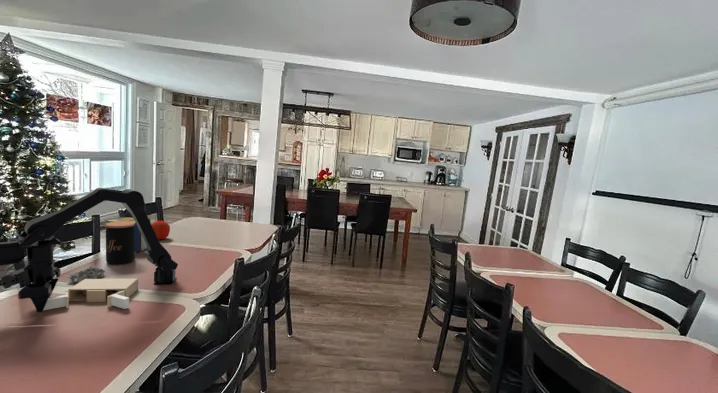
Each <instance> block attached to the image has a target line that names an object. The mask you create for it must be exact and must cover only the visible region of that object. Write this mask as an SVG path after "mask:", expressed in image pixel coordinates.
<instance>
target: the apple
mask: <svg viewBox="0 0 718 393" xmlns="http://www.w3.org/2000/svg"><path fill="white" fill-rule="evenodd" d="M151 225H152V227H153V229H154V231H155V233H156V236H157V238H158V240H159V241H160V239H161V240H165V239H167V238H168V237H169V235H170V233H171V232H170V230H171V228H170V227H171V226H170V224H169V223H168V222H166V221H165V220H155V221H154V222H152V223H151Z"/></svg>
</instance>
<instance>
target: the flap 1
mask: <svg viewBox="0 0 718 393" xmlns="http://www.w3.org/2000/svg"><path fill="white" fill-rule="evenodd" d="M64 307H65V309H69V308H70V305H69V297H68V290H65V294H63V295H57V296H50V298H48V300H47V303H46V305H45V307H44V309H43V311H47V310H52V309H57V308H59V309H60V308H64Z"/></svg>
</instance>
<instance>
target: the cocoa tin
mask: <svg viewBox="0 0 718 393" xmlns="http://www.w3.org/2000/svg"><path fill="white" fill-rule="evenodd" d="M86 291H87V290H82V296H83V297H87V293H86Z"/></svg>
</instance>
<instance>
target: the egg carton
mask: <svg viewBox="0 0 718 393" xmlns="http://www.w3.org/2000/svg"><path fill="white" fill-rule="evenodd" d="M106 272H107V269H103V268H98V267H93V266H89V267H88V268H86V269H83V270H79V271H77V272H75V273H70V274H68V275H67V277H66V278H67V279H69V284H78V283H79V282H81V281H83V280H84V279H99V278H102V277H104V274H106Z"/></svg>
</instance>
